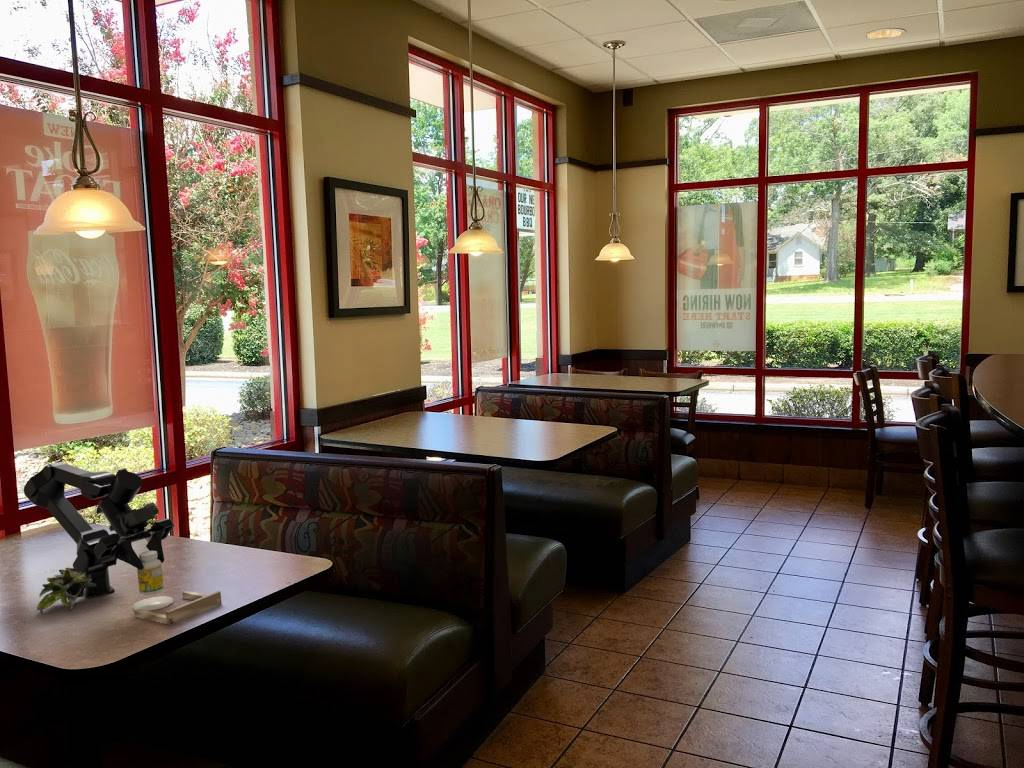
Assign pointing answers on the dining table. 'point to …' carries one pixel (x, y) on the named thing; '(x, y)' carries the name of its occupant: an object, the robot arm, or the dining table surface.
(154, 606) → the coaster
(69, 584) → the green leafy plant
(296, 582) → the dining table surface
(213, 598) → the wooden slat frame
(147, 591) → the supplement bottle
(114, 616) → the dining table surface
